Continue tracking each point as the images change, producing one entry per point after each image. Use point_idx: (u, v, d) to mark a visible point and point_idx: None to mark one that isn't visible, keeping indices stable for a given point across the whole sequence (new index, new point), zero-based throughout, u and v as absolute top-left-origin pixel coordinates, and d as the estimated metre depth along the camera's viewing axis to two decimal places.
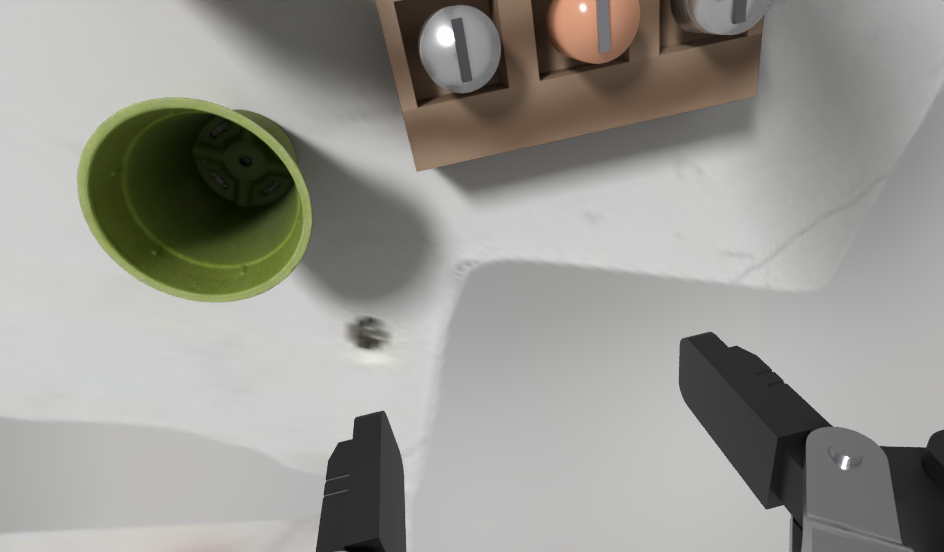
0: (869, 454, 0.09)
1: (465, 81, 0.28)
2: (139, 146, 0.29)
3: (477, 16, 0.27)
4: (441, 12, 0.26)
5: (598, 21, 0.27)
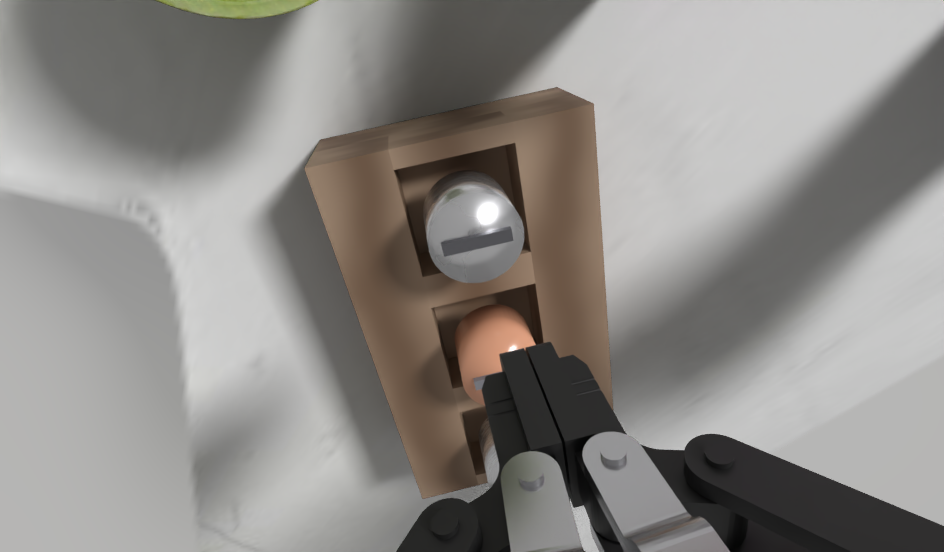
0: (631, 457, 0.10)
1: (443, 248, 0.22)
2: None
3: (512, 255, 0.23)
4: (517, 216, 0.22)
5: None
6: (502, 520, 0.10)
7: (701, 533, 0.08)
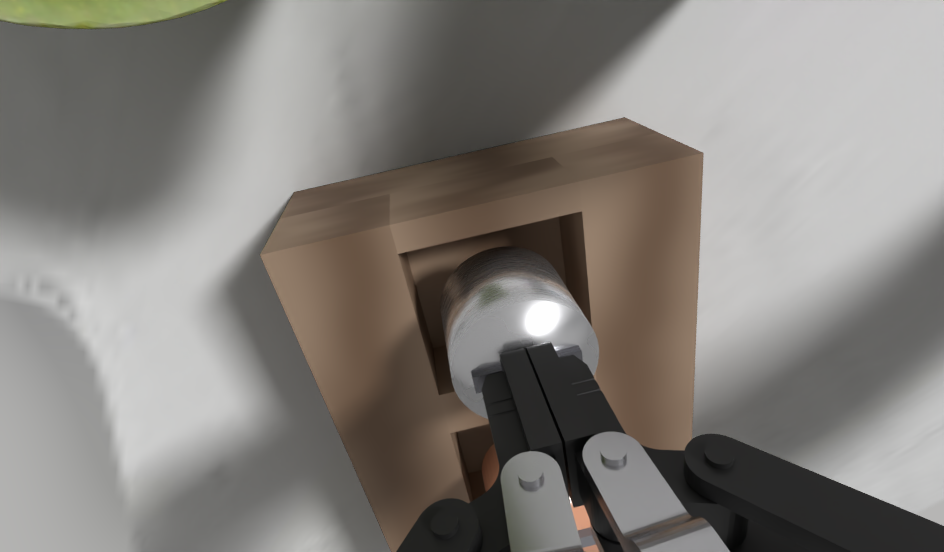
0: (631, 457, 0.10)
1: (474, 381, 0.14)
2: None
3: None
4: (591, 331, 0.14)
5: None
6: (502, 520, 0.10)
7: (701, 533, 0.08)
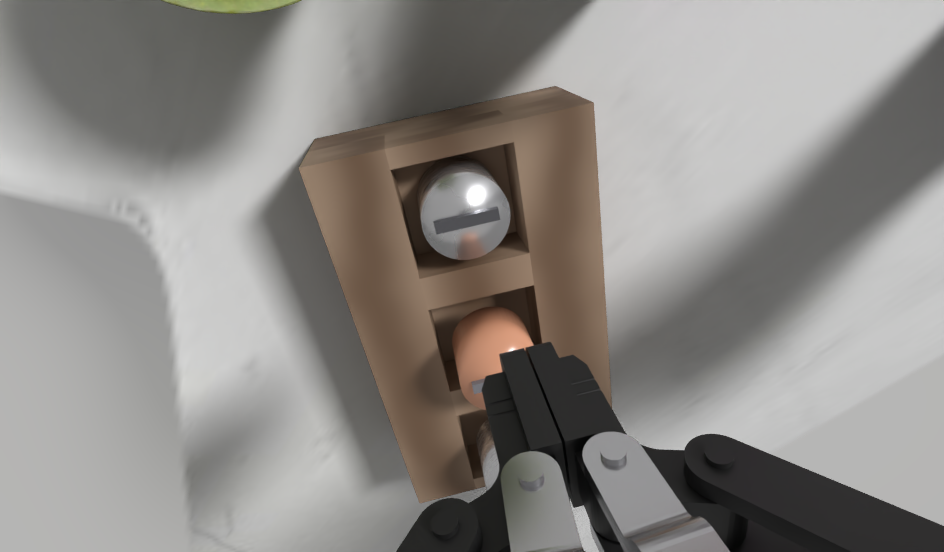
0: (631, 457, 0.10)
1: (435, 226, 0.24)
2: None
3: (499, 233, 0.25)
4: (504, 197, 0.24)
5: None
6: (502, 520, 0.10)
7: (701, 533, 0.08)
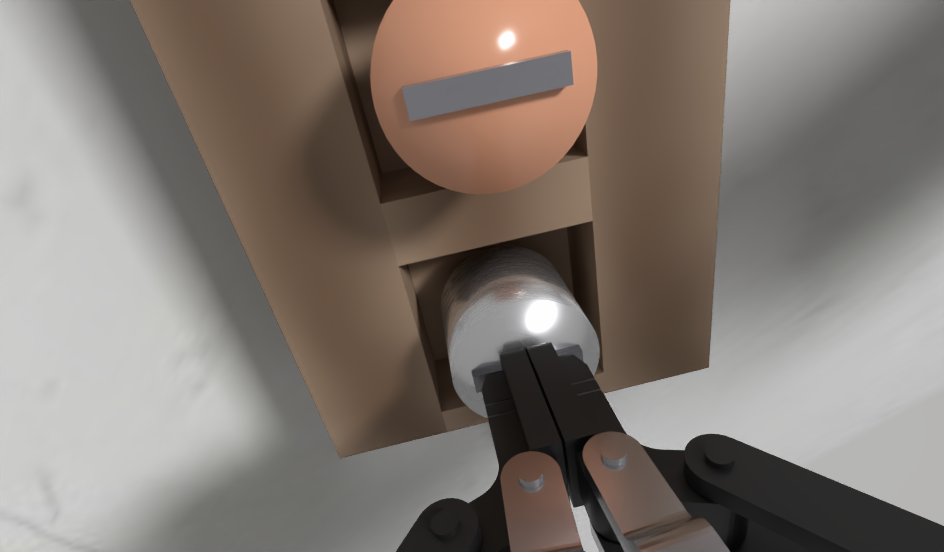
0: (631, 457, 0.10)
1: None
2: None
3: None
4: None
5: (488, 68, 0.09)
6: (502, 520, 0.10)
7: (701, 533, 0.08)
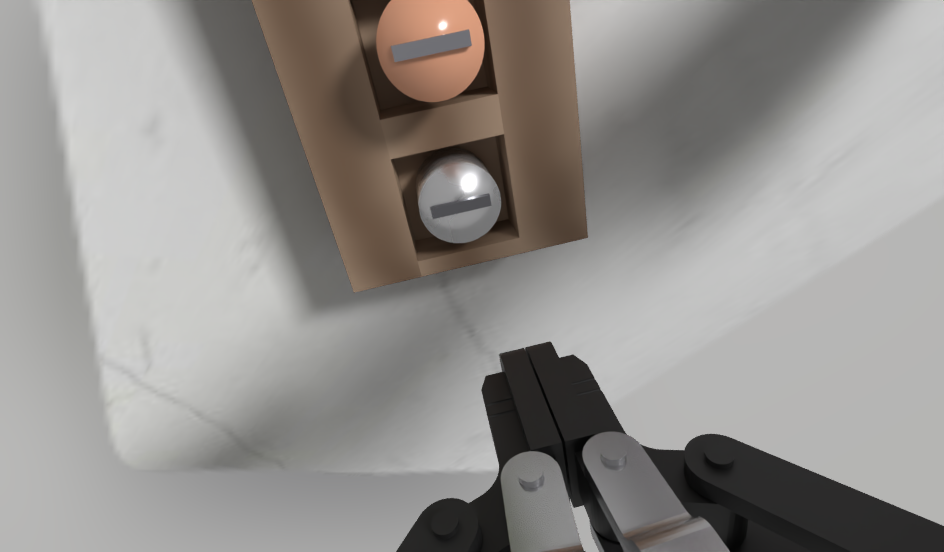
0: (631, 457, 0.10)
1: None
2: None
3: None
4: None
5: (430, 37, 0.20)
6: (502, 520, 0.10)
7: (701, 533, 0.08)
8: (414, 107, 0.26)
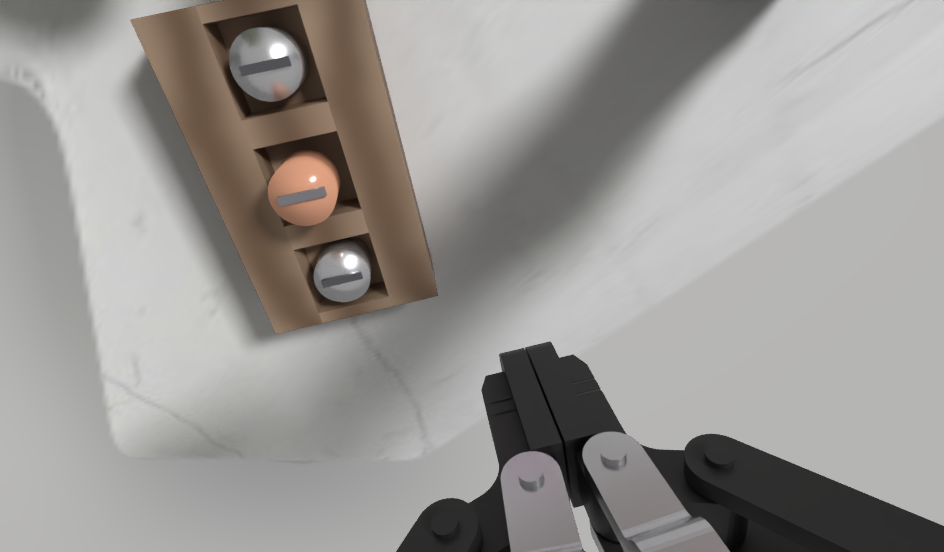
0: (631, 457, 0.10)
1: (240, 69, 0.32)
2: None
3: (294, 79, 0.33)
4: (292, 47, 0.32)
5: (300, 192, 0.33)
6: (502, 520, 0.10)
7: (701, 533, 0.08)
8: None
